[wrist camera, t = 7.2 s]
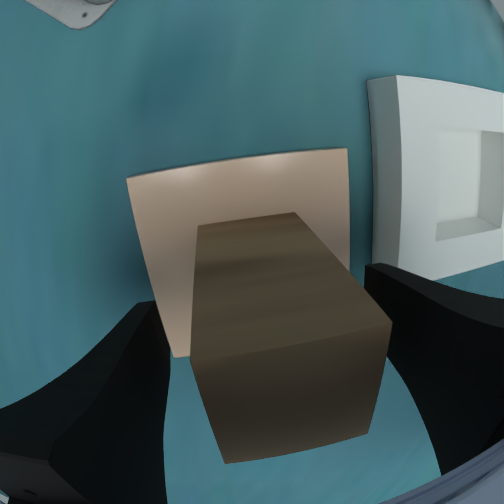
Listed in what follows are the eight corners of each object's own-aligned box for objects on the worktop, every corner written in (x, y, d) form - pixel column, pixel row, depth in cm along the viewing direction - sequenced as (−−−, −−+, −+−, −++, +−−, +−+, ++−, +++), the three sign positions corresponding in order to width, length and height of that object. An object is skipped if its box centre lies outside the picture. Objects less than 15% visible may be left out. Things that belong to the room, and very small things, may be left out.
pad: (342, 321, 17) (346, 327, 16) (174, 350, 16) (174, 357, 15) (341, 147, 13) (347, 148, 12) (129, 176, 12) (126, 178, 12)
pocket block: (487, 241, 16) (514, 256, 14) (371, 266, 15) (395, 290, 13) (494, 96, 13) (525, 99, 10) (366, 80, 12) (396, 75, 10)
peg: (298, 295, 15) (367, 433, 8) (212, 309, 14) (224, 464, 7) (294, 211, 13) (392, 322, 6) (197, 225, 13) (189, 360, 6)
